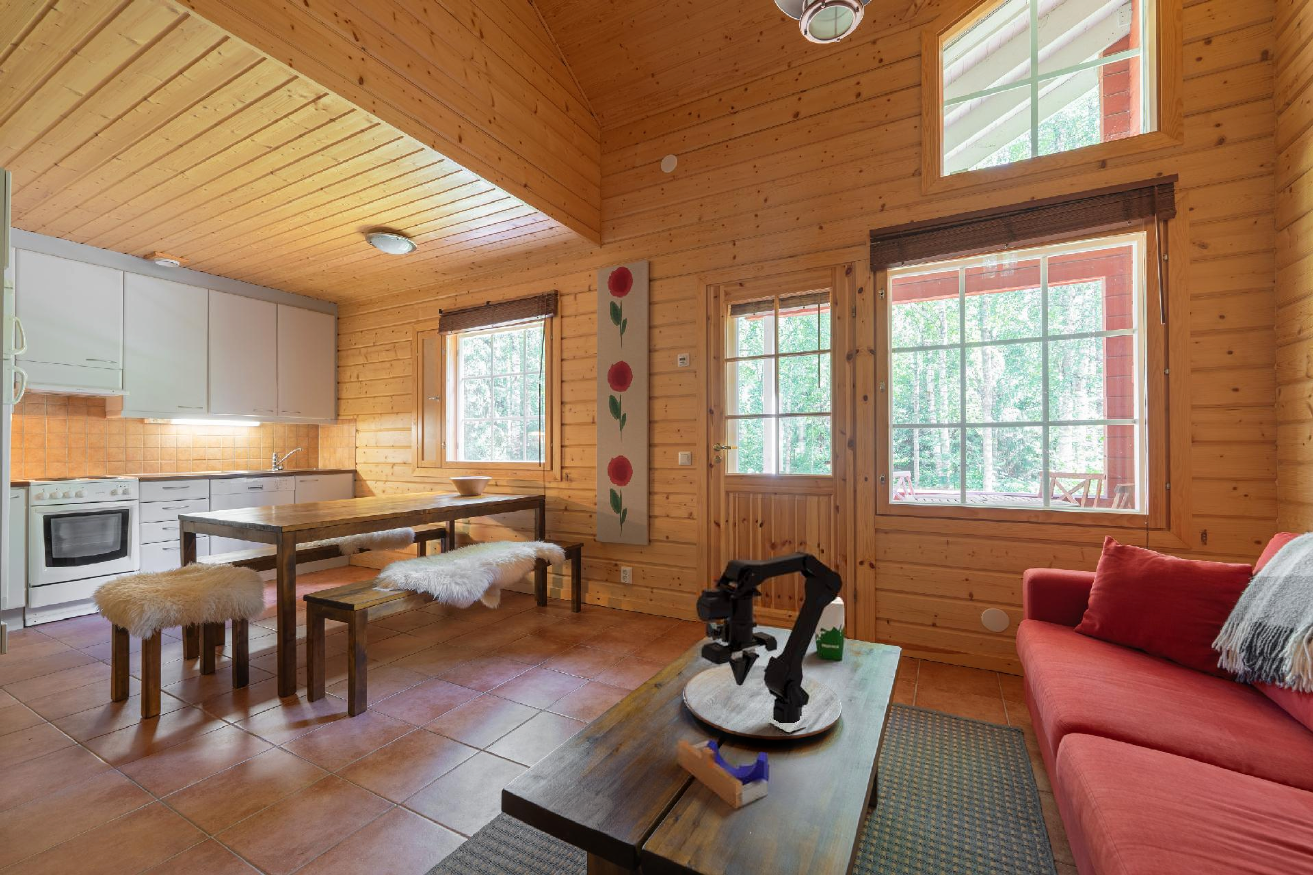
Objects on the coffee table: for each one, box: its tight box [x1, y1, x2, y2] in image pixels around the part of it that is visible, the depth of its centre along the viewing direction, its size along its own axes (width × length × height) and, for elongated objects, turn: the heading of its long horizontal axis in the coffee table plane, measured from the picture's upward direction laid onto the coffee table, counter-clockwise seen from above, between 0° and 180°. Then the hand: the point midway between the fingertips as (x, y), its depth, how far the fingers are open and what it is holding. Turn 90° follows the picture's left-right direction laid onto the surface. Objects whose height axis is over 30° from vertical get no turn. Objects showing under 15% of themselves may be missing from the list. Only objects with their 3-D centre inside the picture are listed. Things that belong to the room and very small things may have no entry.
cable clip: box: [706, 739, 770, 786], centre depth 114 cm, size 12×4×6 cm, turn 67°
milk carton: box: [814, 596, 845, 661], centre depth 183 cm, size 9×9×20 cm
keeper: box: [677, 739, 768, 810], centre depth 114 cm, size 8×18×6 cm, turn 34°
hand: (739, 684), depth 130 cm, fingers closed
